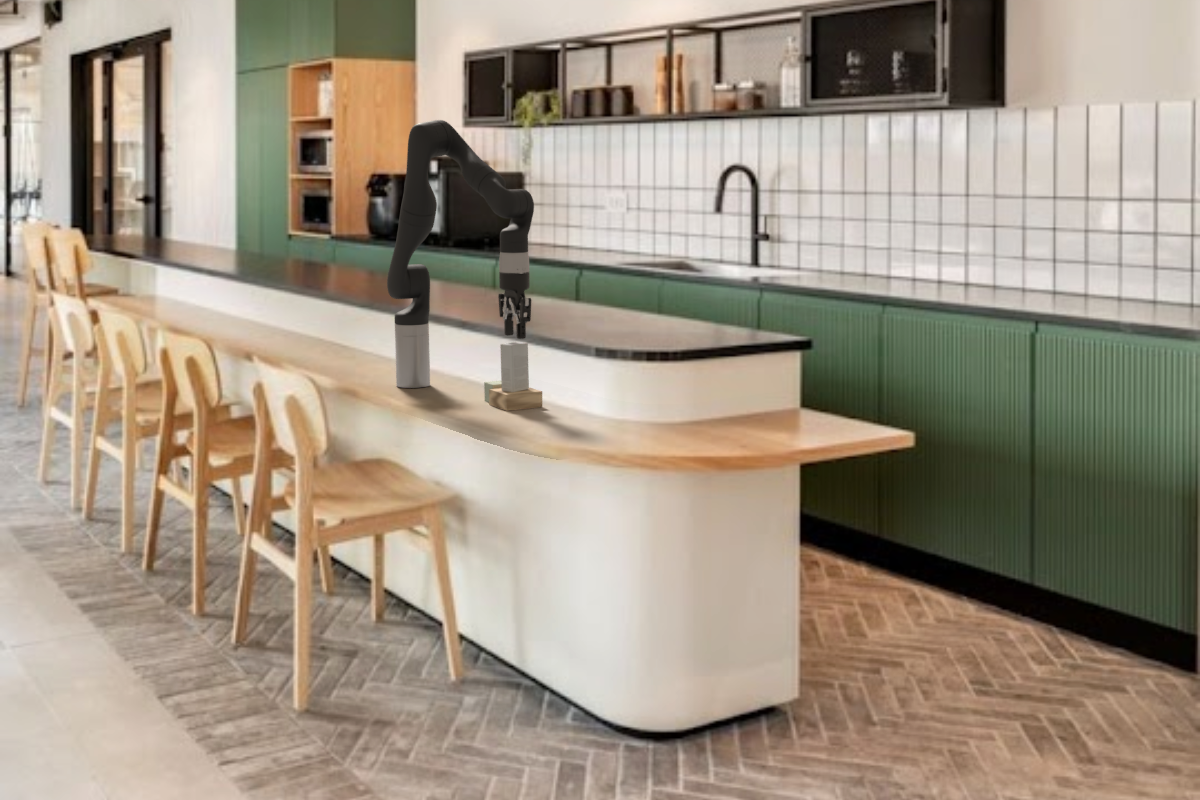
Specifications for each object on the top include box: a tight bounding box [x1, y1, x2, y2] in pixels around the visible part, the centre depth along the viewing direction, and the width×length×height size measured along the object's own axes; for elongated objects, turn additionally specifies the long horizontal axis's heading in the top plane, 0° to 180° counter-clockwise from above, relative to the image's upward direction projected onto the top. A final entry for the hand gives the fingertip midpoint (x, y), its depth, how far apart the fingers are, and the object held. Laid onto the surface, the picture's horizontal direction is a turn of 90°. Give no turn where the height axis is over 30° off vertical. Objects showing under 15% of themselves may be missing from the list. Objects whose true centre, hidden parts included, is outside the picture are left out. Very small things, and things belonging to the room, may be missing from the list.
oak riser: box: [488, 387, 543, 412], centre depth 370 cm, size 10×10×4 cm
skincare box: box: [499, 341, 530, 392], centre depth 368 cm, size 6×4×12 cm
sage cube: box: [483, 380, 502, 403], centre depth 376 cm, size 5×5×5 cm
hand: (515, 336), depth 367 cm, fingers open, 6 cm apart
